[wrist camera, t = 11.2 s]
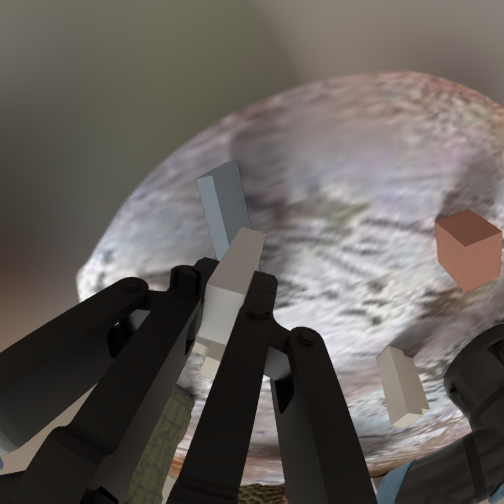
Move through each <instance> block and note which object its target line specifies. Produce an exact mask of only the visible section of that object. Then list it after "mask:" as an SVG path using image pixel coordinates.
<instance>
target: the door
mask: <svg viewBox="0 0 504 504" xmlns="http://www.w3.org/2000/svg"><path fill="white" fill-rule="evenodd" d="M196 182H197V186H198V190H199V194H200V198H201V202H202V205H203V209H204V213H205V217H206V221H207V225H208V228H209V232H210V236H211V240H212V243H213V247H214V251H215V254H216V258H217V260H218V261H221V259H222V258H223V256H224V254H225V253H226V251H227V249H228V248H229V246H230V245H231V243H232V241H233V240H234V238H235V237H236V235H237V233H238V232H239V230H240V229H241V227H244V228H248V229H251V224H250V220H249V215H248V210H247V206H246V201H245V196H244V192H243V187H242V182H241V178H240V173H239V168H238V164H237V161H232V162H227V163H224V164H222V165H220V166H218V167H217V168H215V169H213V170H211V171H209V172H207V173H206V174H204V175H202V176H200V177H198V178H197V179H196ZM257 271H259V272H261V271H260V266H259V264H258V267H257Z"/></svg>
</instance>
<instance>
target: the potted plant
mask: <svg viewBox="0 0 504 504" xmlns="http://www.w3.org/2000/svg"><path fill="white" fill-rule="evenodd" d="M238 501H239V504H288V500H287V493H286V486H285V483H284V484H282V485H280V486H269V485H264V486H263V485H261V484H258V483H257V484H251V485H246V486H240V488H239V492H238Z"/></svg>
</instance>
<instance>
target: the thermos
mask: <svg viewBox="0 0 504 504" xmlns="http://www.w3.org/2000/svg"><path fill="white" fill-rule="evenodd" d="M194 404H195V403H194V399H193V397H192V396H191V394H190V393H189V392H187V391H186V390H185V389H184V388H182V387H180V386H179V385H177V384H175V386H174V388H173V391H172V393H171V395H170V397H169V399H168V401H167V403H166V405H165V407H164V409H163V412H162V414H161V416H160V418H159V420H158V422H157V424H156V426H155V428H154V431H153V433H152V435H151V437H150V439H149V441H148V443H147V445H146V448H145V450H144V452H143V454H142V456H141V458H140V460H139V463H138V465H137V467H136V469H135V471H134V473H133V476H132V478H131V482H130V489H129V493H128V495H127V498H126V500H125V502H124V504H161V503H162V500H163V497H162V489H163V486H164V483H165V480H166V477H167V474H168V472H169V469H170V466H171V463H172V460H173V457H174V454H175V451H176V449H177V446H178V444H179V443H180V442H181V441H182V440H183V438H184V435H185V433H186V431H187V428H188V425H189V422H190V419H191V412H192V409H193V407H194Z"/></svg>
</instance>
